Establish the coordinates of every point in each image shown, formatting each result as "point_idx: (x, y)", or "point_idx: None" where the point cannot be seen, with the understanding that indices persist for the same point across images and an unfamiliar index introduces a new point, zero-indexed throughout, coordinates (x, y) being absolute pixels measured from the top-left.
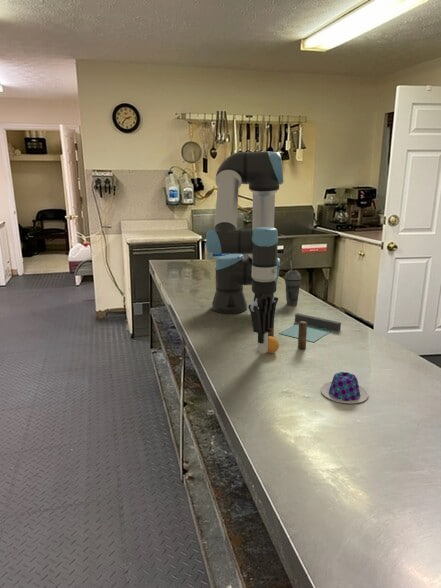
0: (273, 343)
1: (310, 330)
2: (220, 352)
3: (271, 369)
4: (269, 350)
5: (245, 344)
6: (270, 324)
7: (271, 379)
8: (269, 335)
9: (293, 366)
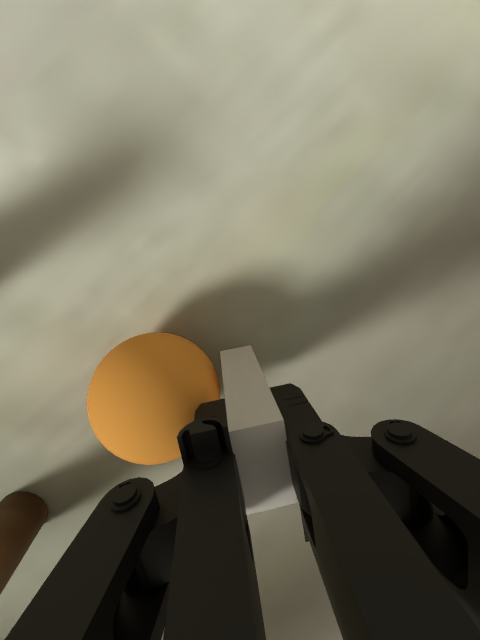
0: (170, 359)
1: None
2: None
3: (335, 196)
4: (203, 352)
5: None
6: (142, 533)
7: (438, 96)
8: (17, 531)
9: (200, 124)
